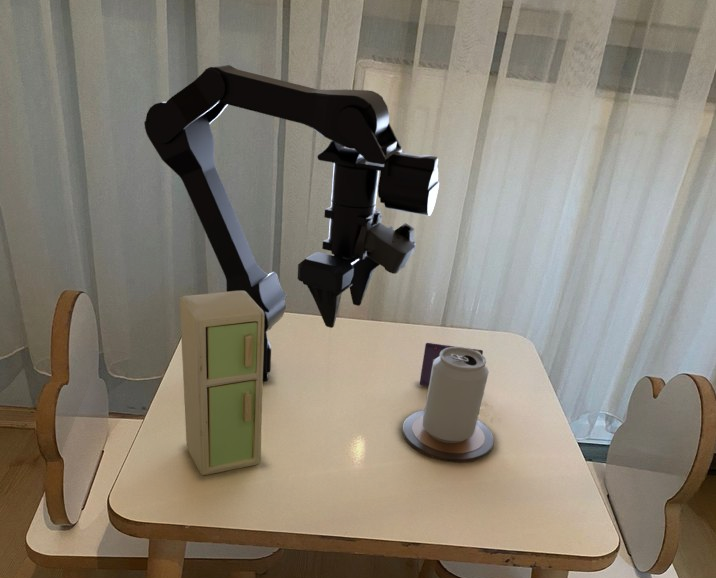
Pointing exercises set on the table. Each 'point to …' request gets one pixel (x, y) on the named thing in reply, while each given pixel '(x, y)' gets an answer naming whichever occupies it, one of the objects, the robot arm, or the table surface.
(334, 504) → the table surface
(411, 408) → the table surface
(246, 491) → the table surface
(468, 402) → the can
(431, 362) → the game card
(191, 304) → the toy refrigerator
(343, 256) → the robot arm
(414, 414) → the coaster
